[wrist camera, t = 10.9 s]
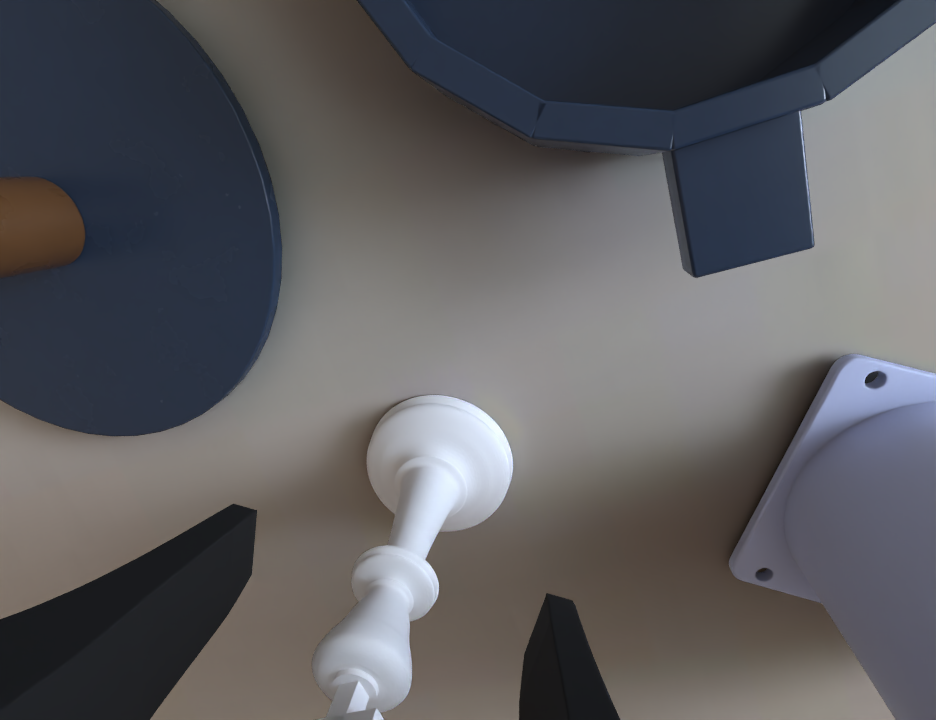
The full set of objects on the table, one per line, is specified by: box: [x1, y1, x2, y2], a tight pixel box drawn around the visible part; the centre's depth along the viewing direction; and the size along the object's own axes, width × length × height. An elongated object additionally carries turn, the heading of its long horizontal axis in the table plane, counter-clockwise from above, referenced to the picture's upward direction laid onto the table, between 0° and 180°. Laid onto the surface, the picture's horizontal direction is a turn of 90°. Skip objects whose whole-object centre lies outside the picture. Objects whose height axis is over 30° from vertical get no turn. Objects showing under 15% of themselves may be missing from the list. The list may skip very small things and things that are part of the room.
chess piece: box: [312, 395, 513, 720], centre depth 13 cm, size 5×5×10 cm
